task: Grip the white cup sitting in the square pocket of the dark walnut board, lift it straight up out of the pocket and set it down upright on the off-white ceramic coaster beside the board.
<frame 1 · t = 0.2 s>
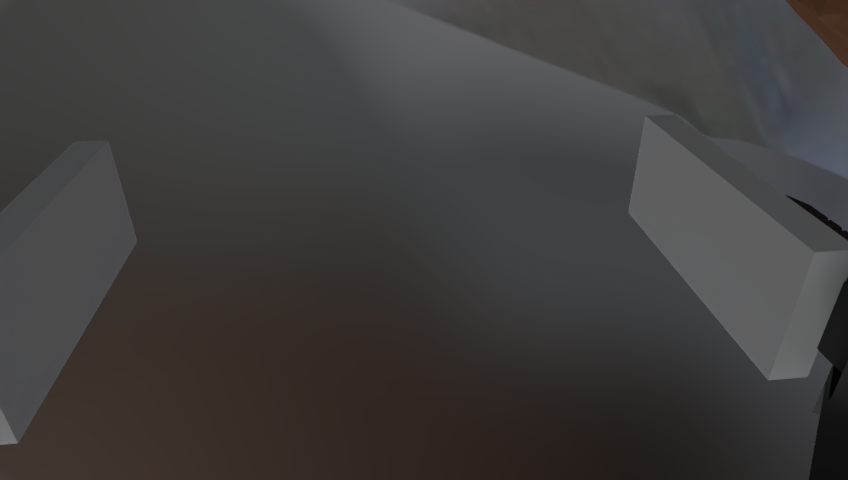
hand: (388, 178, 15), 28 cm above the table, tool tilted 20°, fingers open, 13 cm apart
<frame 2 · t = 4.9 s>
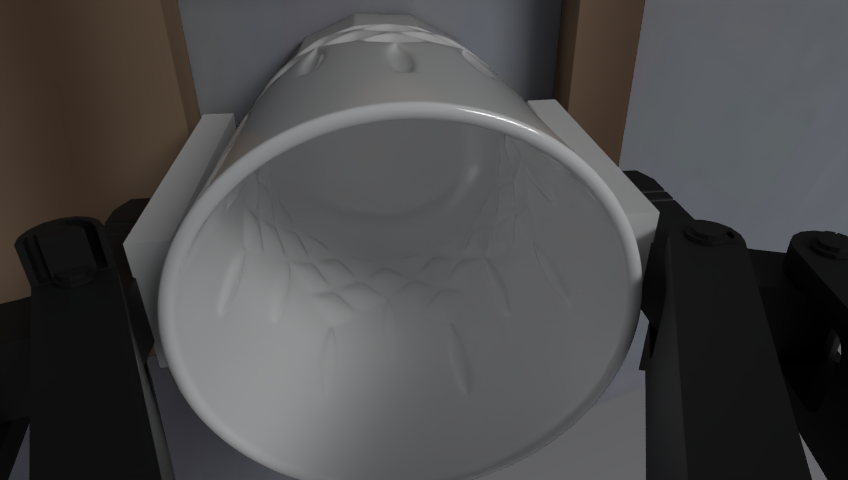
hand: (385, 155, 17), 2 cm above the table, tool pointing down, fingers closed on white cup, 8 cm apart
white cup: (381, 124, 19), resting in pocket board, touching gripper
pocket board: (381, 126, 19), on the table
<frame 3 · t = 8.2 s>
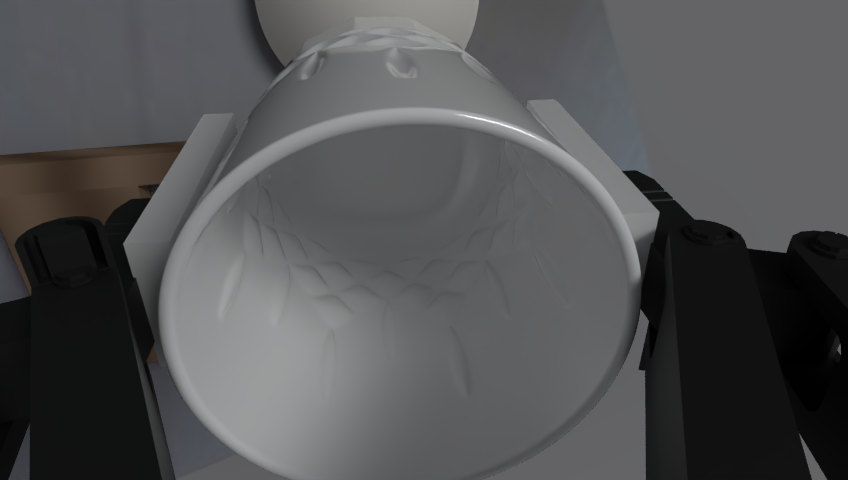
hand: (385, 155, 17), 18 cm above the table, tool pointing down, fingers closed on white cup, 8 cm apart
white cup: (380, 126, 19), point 15 cm above the table, touching gripper
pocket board: (256, 245, 38), on the table
when the fingers open (5 cm above the table, at t = 11.6 s): white cup drops 1 cm, resting on coaster.
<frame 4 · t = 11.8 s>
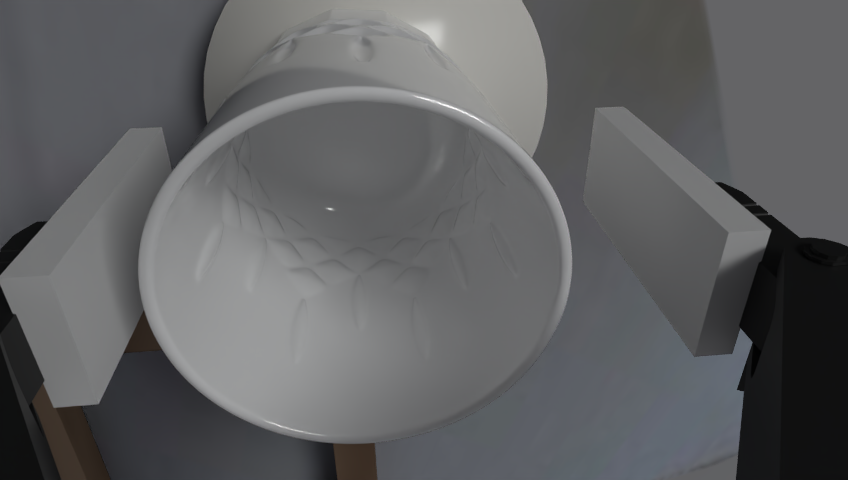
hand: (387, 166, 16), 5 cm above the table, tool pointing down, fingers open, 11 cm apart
coaster: (379, 101, 21), on the table
white cup: (357, 113, 20), point 1 cm above the table, touching coaster
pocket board: (213, 418, 27), on the table
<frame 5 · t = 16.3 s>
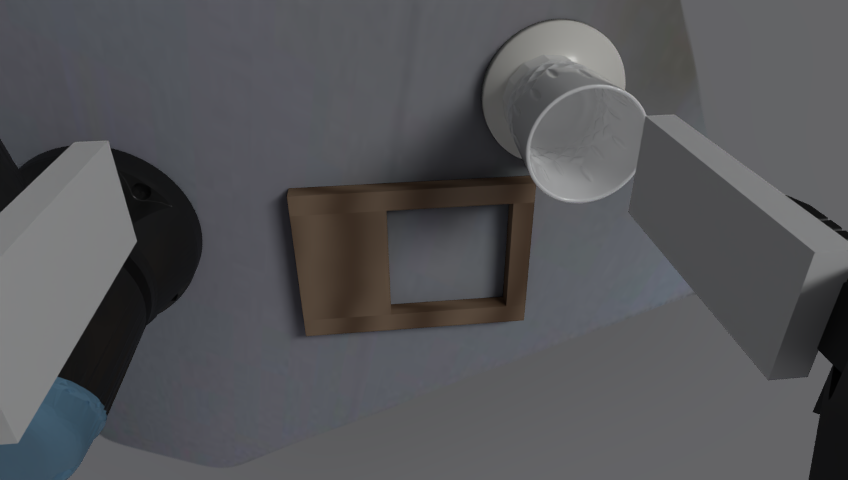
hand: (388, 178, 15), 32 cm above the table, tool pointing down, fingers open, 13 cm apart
coaster: (551, 92, 48), on the table
white cup: (544, 97, 47), point 1 cm above the table, touching coaster
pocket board: (447, 252, 54), on the table
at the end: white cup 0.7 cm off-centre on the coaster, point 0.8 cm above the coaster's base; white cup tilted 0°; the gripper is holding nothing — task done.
